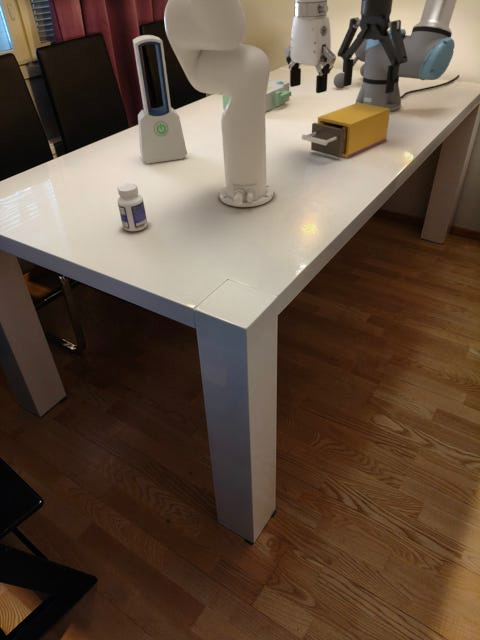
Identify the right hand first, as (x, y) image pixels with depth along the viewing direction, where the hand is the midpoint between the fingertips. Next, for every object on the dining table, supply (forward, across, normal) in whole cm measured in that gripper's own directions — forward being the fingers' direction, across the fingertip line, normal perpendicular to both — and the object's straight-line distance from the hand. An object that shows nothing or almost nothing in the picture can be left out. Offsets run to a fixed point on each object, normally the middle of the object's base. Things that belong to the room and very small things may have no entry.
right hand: (367, 89), depth 134 cm
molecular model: (+14, +40, -53) cm, 68 cm away
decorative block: (+14, +52, -8) cm, 54 cm away
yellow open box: (+14, 0, +5) cm, 15 cm away
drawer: (+13, 0, +12) cm, 17 cm away
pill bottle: (+14, +5, +76) cm, 78 cm away
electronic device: (+14, +35, +46) cm, 60 cm away
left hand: (-3, +5, +20) cm, 20 cm away
